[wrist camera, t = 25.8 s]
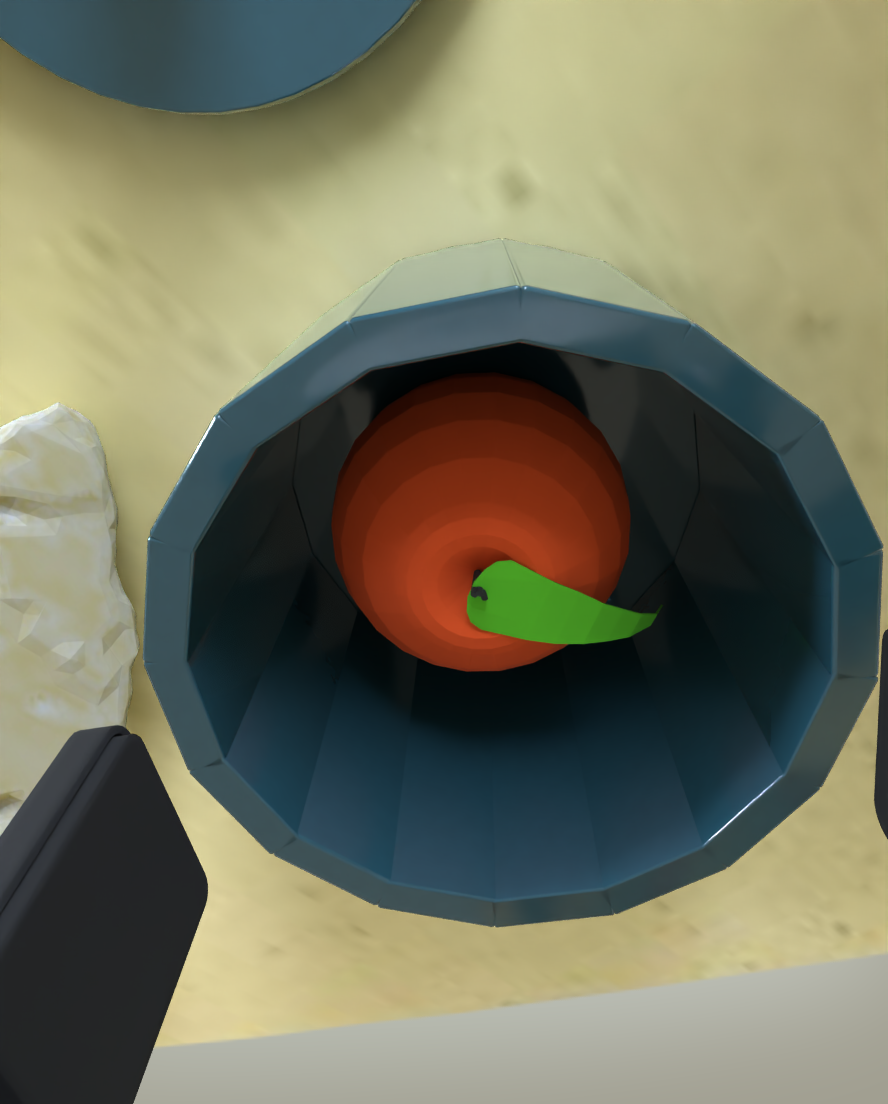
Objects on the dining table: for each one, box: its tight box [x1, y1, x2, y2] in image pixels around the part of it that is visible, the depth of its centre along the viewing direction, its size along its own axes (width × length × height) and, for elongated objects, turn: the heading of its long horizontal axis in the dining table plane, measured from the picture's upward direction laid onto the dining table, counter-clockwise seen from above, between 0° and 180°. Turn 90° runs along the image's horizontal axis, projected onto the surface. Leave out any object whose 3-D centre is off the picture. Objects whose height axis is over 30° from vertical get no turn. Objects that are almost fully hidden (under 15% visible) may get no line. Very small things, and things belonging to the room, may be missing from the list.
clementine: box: [331, 372, 663, 672], centre depth 19 cm, size 8×7×7 cm
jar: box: [143, 238, 883, 927], centre depth 18 cm, size 13×13×10 cm
